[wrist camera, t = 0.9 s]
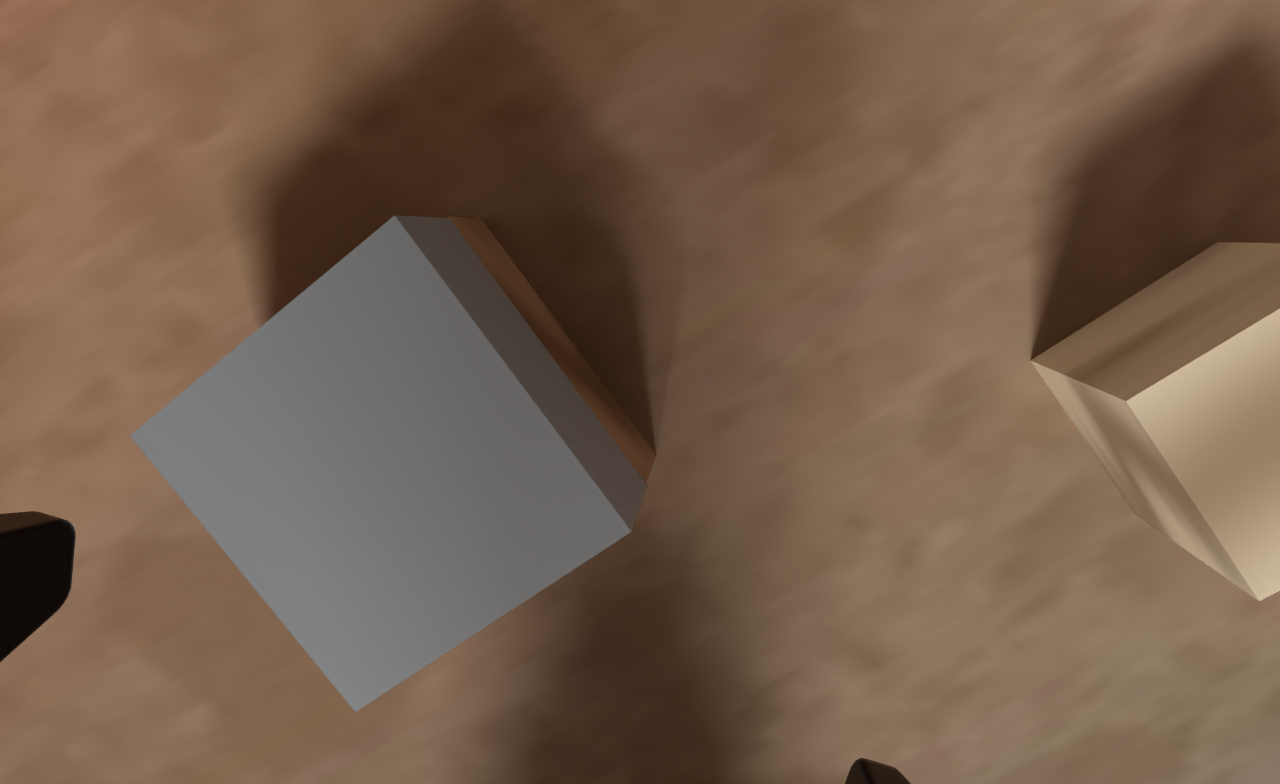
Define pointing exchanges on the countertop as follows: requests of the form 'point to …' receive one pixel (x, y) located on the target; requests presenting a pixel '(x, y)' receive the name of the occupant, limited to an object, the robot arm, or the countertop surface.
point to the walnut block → (557, 343)
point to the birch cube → (1189, 406)
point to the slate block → (395, 459)
